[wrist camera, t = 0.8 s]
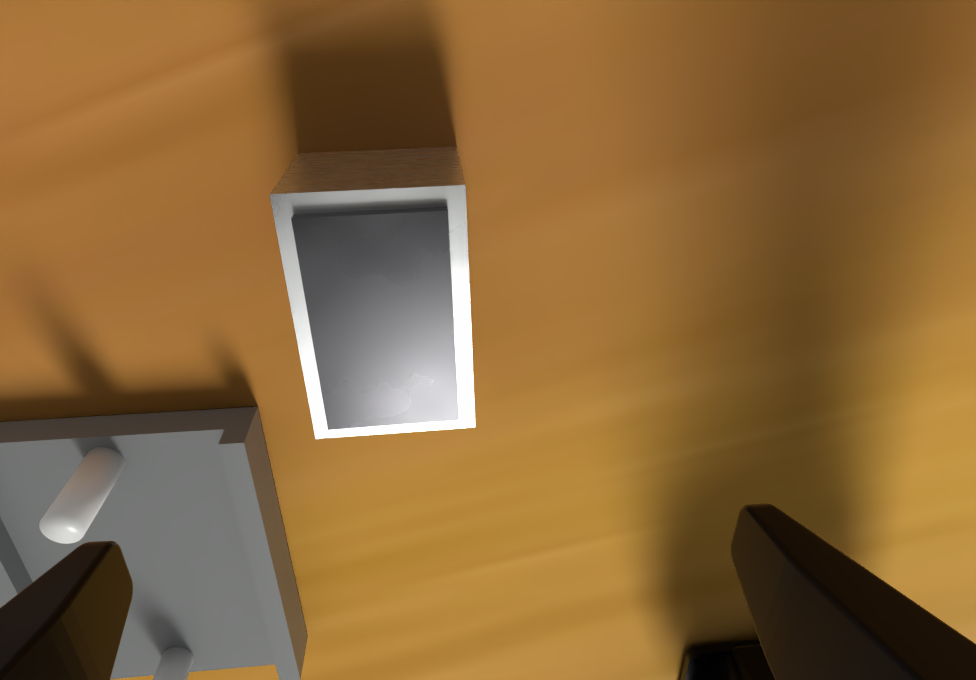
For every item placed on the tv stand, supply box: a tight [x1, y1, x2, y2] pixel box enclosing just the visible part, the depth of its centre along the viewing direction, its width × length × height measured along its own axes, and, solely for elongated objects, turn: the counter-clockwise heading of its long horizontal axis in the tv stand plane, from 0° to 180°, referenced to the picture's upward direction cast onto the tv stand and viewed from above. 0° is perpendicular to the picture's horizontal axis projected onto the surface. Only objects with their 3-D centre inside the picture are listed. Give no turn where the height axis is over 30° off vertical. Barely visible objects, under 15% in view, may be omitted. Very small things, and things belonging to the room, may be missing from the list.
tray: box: [0, 407, 308, 680], centre depth 23 cm, size 12×10×4 cm
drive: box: [270, 146, 475, 439], centre depth 19 cm, size 7×4×4 cm, turn 1°
